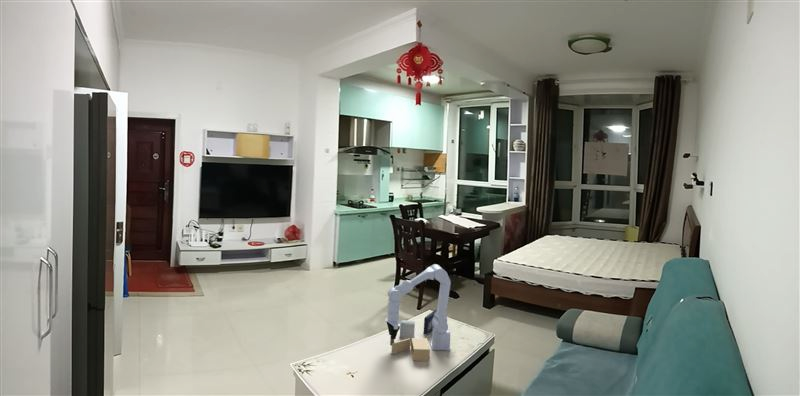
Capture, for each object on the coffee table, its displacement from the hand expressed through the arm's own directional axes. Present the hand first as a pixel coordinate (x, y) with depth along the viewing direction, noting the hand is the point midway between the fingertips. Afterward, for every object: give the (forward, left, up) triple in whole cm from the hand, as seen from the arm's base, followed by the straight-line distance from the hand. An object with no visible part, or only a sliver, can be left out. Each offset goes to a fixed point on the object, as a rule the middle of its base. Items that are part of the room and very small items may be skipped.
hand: (392, 336), depth 206 cm
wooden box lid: (-3, 0, -7) cm, 8 cm away
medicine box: (-9, -15, -7) cm, 19 cm away
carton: (-14, +5, -7) cm, 17 cm away
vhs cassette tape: (-25, -26, -7) cm, 37 cm away
